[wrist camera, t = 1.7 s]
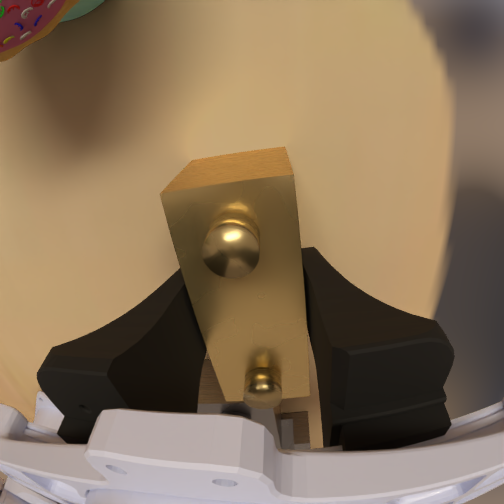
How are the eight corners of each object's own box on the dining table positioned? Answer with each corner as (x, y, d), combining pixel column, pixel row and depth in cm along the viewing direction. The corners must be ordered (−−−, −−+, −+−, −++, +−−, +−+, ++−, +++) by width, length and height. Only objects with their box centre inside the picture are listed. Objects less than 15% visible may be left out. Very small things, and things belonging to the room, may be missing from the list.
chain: (309, 485, 27) (310, 513, 24) (241, 488, 28) (239, 515, 25) (304, 352, 16) (309, 408, 13) (169, 360, 17) (155, 411, 14)
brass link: (303, 331, 15) (312, 415, 11) (234, 337, 16) (223, 420, 11) (284, 146, 11) (296, 185, 7) (192, 160, 12) (147, 207, 7)
